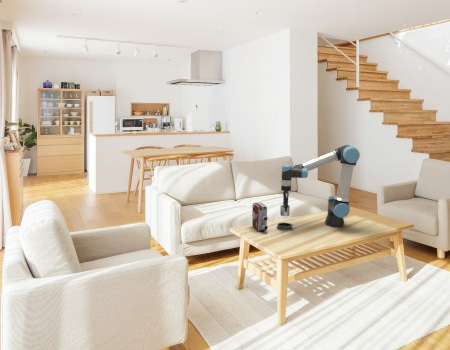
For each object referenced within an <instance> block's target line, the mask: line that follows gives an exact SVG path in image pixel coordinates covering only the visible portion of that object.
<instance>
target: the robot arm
mask: <svg viewBox="0 0 450 350" xmlns="http://www.w3.org/2000/svg"><path fill="white" fill-rule="evenodd" d="M360 156H361V155H360V151H359V150H358V149H357V148H356V147H355V146H352V145H350V144H346V145H342V146H339V147H337V148H335V149H332V151H331V152H328V153H325V154H323V155H320V156H317V157H315V158H313V159H311V160H307V161H305V162H302V163H300V164H295V165H292V164H284V165H282V167H281V181H280V183H281V184H280V185H281V187H280V188H281V189H280V190H281V191H282V194H283V195H282V196H283V199H282V201H283V202H282V205H284V207H283V208H284V216H283V217H288V216H287V213H288V205H289V195H290V194H289V192H290V191H292V179H296V178H297V179H304V178H305V179H306V178H308V176H309V172H310V171H313V170H314V169H317V168H318V169H319V168H320V167H323V166H326V165H328V164H331V163H334V162H339V163H340V165H341V166H340V167H341V168H340V174H339V177H338V178H339V180H338V186H337V191H336V195H331V196H329V197H328V200H327V201H328V202H327V203H328V204H327V214H326V218H325V220H324V224H325V226H328V227H334V228H341V227H344V226H345V220H344V218H346V217H347V216H348V215H349V214H350V211H351V208H350V199H349V195H350V189H351V183H352V178H353V172H354V167H356V166H357V162H358V161H359V159H360Z"/></svg>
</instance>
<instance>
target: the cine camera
mask: <svg viewBox="0 0 450 350" xmlns="http://www.w3.org/2000/svg"><path fill="white" fill-rule="evenodd" d="M251 219H252V220H251V224H252V225H251V226H252V228H254V229H255V230H256V231H257V232H265V231H267V230H268V228H269V226H268V223H267V222H268V219H269V218H268V206H267V205H266V204H265V203H263V202H253V203H252V214H251Z"/></svg>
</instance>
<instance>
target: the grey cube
mask: <svg viewBox="0 0 450 350" xmlns="http://www.w3.org/2000/svg"><path fill="white" fill-rule="evenodd" d="M283 207H284V205H283V204H281V205H280V207H279V208H280V210H279V211H280V212H279V213H280V214H279V215H280V216H281V217H285V216H284V208H283ZM290 207H291V206H290V205H289V204H288V213H287V216H286V217H288V216H289V217H290V215H291V214H290Z"/></svg>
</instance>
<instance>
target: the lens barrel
mask: <svg viewBox="0 0 450 350" xmlns="http://www.w3.org/2000/svg"><path fill="white" fill-rule="evenodd" d="M276 230H278V231H282V232H292V231H293V230H294V227H293V224H292V223H289V222H279V223H277V226H276Z"/></svg>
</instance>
